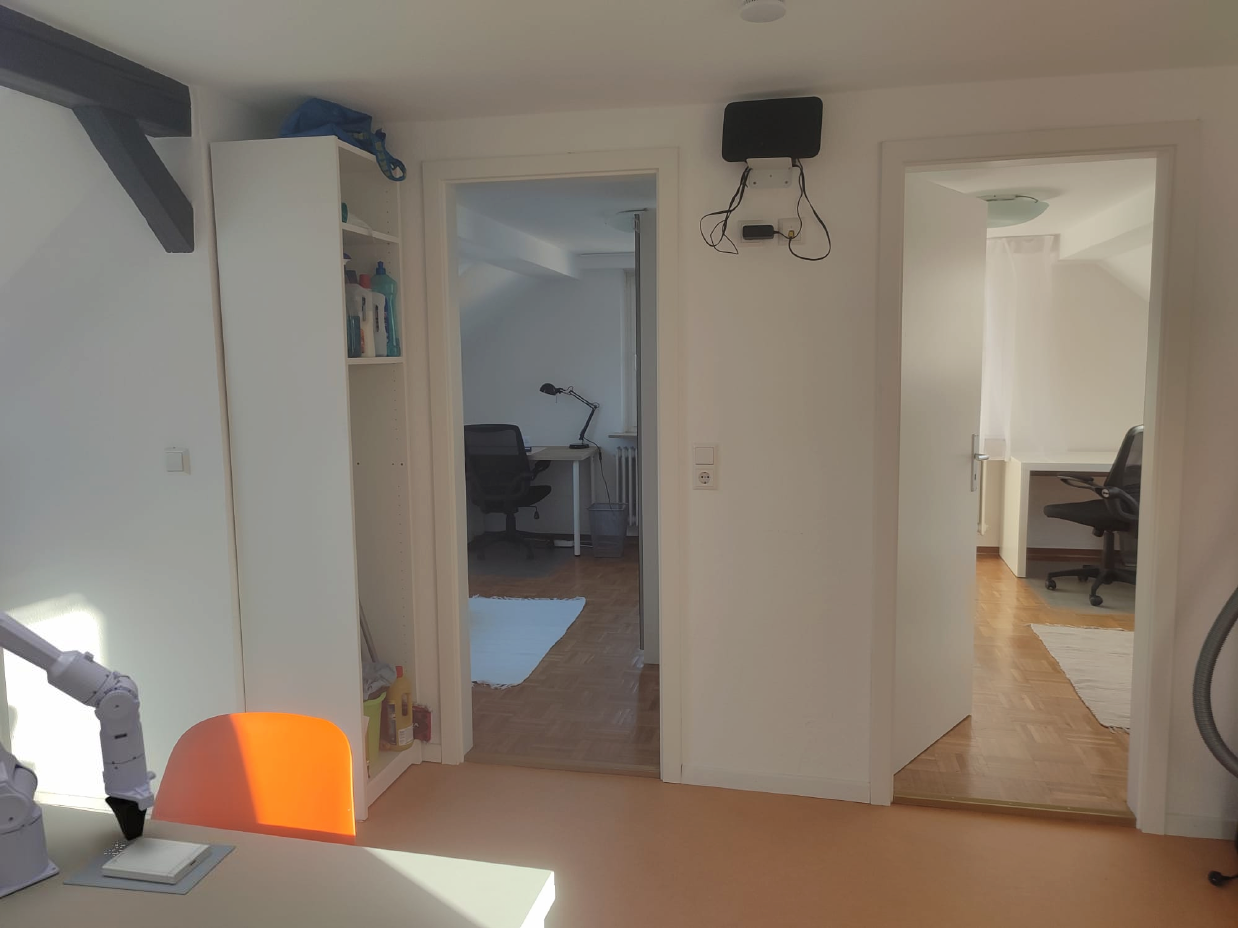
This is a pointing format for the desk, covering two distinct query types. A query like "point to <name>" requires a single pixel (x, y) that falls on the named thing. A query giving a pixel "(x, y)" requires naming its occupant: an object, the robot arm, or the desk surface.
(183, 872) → the hard drive
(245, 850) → the desk surface
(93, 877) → the label mat
